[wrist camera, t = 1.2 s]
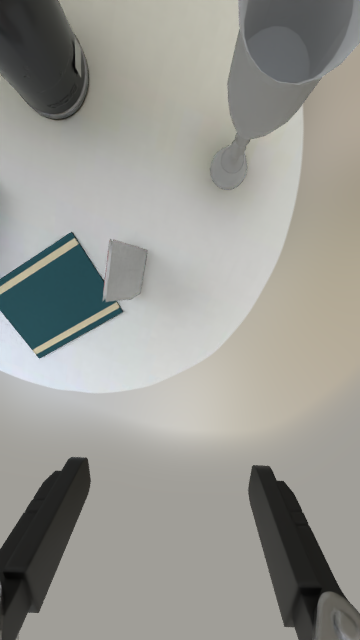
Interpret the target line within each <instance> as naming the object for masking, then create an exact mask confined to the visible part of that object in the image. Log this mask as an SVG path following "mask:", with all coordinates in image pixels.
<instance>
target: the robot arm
mask: <svg viewBox="0 0 360 640" xmlns="http://www.w3.org/2000/svg"><path fill="white" fill-rule="evenodd" d="M0 74H1V75H2V76H3V77H4V78H5V79H6V80H7V81H8V82H9V84H10V85H11V86H12V87H13V88H14V89H15V90H16V91H17V92H18V93H19V94H20V95H21V96H22V98H23V99H24V100H25V101H26V102H27V103H28V104H29V105H30V107H32V108H33V109H34V110H35V111H36V112H38V113H39V114H41V115H43V116H45V117H48V118H52V119H62V118H66V117H68V116H70V115H72V114H73V113H75V112H76V111H77V110H78V109H79V107H80V106H81V104H82V103H83V101H84V99H85V96H86V93H87V89H88V80H89V75H88V66H87V61H86V58H85V55H84V52H83V50H82V48H81V46H80V43H79V41H78V39H77V38H76V36H75V34H74V33H73V31H72V29H71V27H70V24H69V22H68V20H67V18H66V16H65V14H64V12H63V9H62V7H61V5H60V3H59V1H58V0H0ZM90 482H91V480H90V472H89V464H88V459H87V458H80V457H71V458H70V459H68V461H67V462H66V464H65V466H64V467H63V469H62V471H55V472H54V473H53V474H52V475H50V476H49V477H48V478H47V479H46V480H45V481H44V482H43V484H42V486H41V487H40V488H39V490H38V492H37V493H36V495H35V496H34V499H33V500H32V501H31V502H30V504H29V505H28V507H27V509H26V511H25V513H23V515H22V516H21V518H20V519H19V521H18V523H17V524H16V526H15V527H14V529H13V530H12V532H11V533H10V535H9V537H8V538H7V540H6V541H5V543H4V544H3V546H2V548H1V549H0V640H19V631H20V629H21V627H22V624H23V622H24V620H25V618H26V615H27V613H28V612H29V613H30V612H31V613H39V611H40V608H41V606H42V604H43V601H44V599H45V596H46V594H47V592H48V589H49V587H50V584H51V582H52V580H53V577H54V575H55V572H56V570H57V568H58V565H59V563H60V560H61V558H62V555H63V553H64V551H65V548H66V546H67V544H68V541H69V539H70V536H71V534H72V532H73V529H74V527H75V524H76V522H77V519H78V517H79V515H80V512H81V510H82V507H83V505H84V503H85V500H86V498H87V495H88V492H89V488H90ZM248 491H249V500H250V505H251V508H252V512H253V515H254V519H255V522H256V526H257V530H258V533H259V537H260V540H261V544H262V547H263V551H264V555H265V558H266V562H267V566H268V569H269V573H270V576H271V580H272V584H273V587H274V591H275V594H276V598H277V602H278V605H279V609H280V612H281V616H282V620H283V623H284V626H285V627H295V630H296V633H297V636H298V639H299V640H360V613H359V612H358V611H357V610H356V609H355V608H354V606H353V605H352V604H350V602H349V601H348V600H347V598H346V597H345V596H344V594H343V593H342V591H341V589H340V588H339V586H338V584H337V582H336V580H335V578H334V576H333V574H332V572H331V570H330V568H329V565H328V563H327V561H326V559H325V557H324V555H323V553H322V551H321V549H320V547H319V545H318V543H317V541H316V538H315V536H314V534H313V532H312V530H311V528H310V526H309V525H308V522H307V520H306V518H305V515H304V514H303V513H302V509H301V507H300V505H299V503H298V501H297V499H296V497H295V495H294V493H293V492H292V491H291V490H290V488H289V487H288V486H287V485H286V483H285V482H284V481H276V478H275V476H274V474H273V471H272V469H271V468H270V467H269V466H258V465H256V466H255V465H253V466H252V471H251V476H250V482H249V490H248Z"/></svg>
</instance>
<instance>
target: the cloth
mask: <svg viewBox="0 0 360 640" xmlns="http://www.w3.org/2000/svg"><path fill="white" fill-rule="evenodd" d="M103 290H104V281H103V279H102V278H101V276H100V275H99V273H98V272H97V270H96V269H95V267H94V265H93V264H92V262H91V261H90V259H89V258H88V256H87V254H86V253H85V251H84V250H83V248H82V247H81V245H80V243H79V242H78V240H77V239H76V237H75V236H74V234H73V233H72V232H71V233H69V234H68V235H66V236H65V237H63V238H62V239H60V240H59V241H57V242H56V243H54V244H53V245H51V246H50V247H48V248H47V249H45V250H44V251H42V252H41V253H39V254H38V255H36V256H35V257H33V258H31V259H30V260H28V261H27V262H25V263H24V264H22V265H21V266H19V267H18V268H16V269H15V270H13V271H12V272H10V273H9V274H7V275H6V276H4V277H3V278H1V279H0V311H1V312H2V313H3V314H4V315H5V317H6V318H7V319H8V320H9V322H10V323H11V324H12V325H13V327H14V328H15V329H16V330H17V332H18V333H19V334H20V335H21V337H22V338H23V339H24V340H25V342H26V343H27V344H28V345H29V346H30V348H31V349H32V350H33V352H34V353H35V354H36V355H37V356H38V358H41V357H43V356H45V355H47V354H48V353H50V352H52V351H54V350H56V349H57V348H59V347H61V346H63V345H65V344H66V343H68V342H70V341H72V340H74V339H75V338H77V337H79V336H81V335H83V334H84V333H86V332H88V331H90V330H92V329H93V328H95V327H97V326H99V325H101V324H102V323H104V322H106V321H108V320H109V319H111V318H113V317H115V316H117V315H118V314H120V313H122V312H123V311H122V309H121V308H120V306H119V304H118V303H117V301H109V302H106V300H105V299H104V301H103Z"/></svg>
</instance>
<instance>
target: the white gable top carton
mask: <svg viewBox="0 0 360 640" xmlns="http://www.w3.org/2000/svg"><path fill="white" fill-rule="evenodd" d="M146 256H147V250H145V249H142V248H140V247H137V246H133V245H130V244H127V243H123V242H120V241H116V240H113V241H112V240H111V239H110V240H109V248H108V256H107V265H106V273H105V282H104V290H103V301H104V299H105V300H106V302H109V301H118V300H130V299H132V298H134V297H135V296H137V295H138V294H140V291H141V286H142V280H143V274H144V268H145V262H146Z"/></svg>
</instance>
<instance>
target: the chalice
mask: <svg viewBox="0 0 360 640" xmlns="http://www.w3.org/2000/svg"><path fill="white" fill-rule="evenodd" d="M238 1H239V27H240V29H239V33H238V38H237V42H236V46H235V50H234V55H233V59H232V63H231V68H230V73H229V78H228V83H227V85H228V102H229V109H230V115H231V118H232V121H233V124H234V127H235V129H236V131H237V134H236V137H235V140H234V141H233V142H232V144H231V145H228V146H226V147H224V148H222V149H221V150H219V151H218V152H217V153H216V154H215V156H214V158H213V160H212V162H211V167H210V172H211V177H212V180H213V182H214V183H215V184H216V185H217V186H218V187H220V188H221V189H226V190H229V189H233V188H235V187H237V186H239V184H240V183H241V182H242V181H243V179H244V178H245V176H246V172H247V160H246V155H245V150H246V145H247V144H248V143H249V141H250V139H254V138H258V137H262V136H266V135H267V134H269V133H271V132H272V131H274V130H276V129H277V128H279V127H280V126H282V125H283V124H285V123H286V122H288V121H289V120H290V119H291V117H292V116H293V115H294V114H295V113H296V112H297V111H298V109H299V108H300V107H301V105H302V104H303V103H304V101H305V100H306V99H307V97H308V96H309V94H310V93H311V92H312V90H313V89H314V88H315V86H316V85H317V83H318V82H319V81H320V79H321V78H322V77H323V76H324V75H325V74H327V73H328V72H330V71H331V70H333V69H334V68H335V67H337V66H339V65H340V64H341V63H342V62H343V61H344V60H345V58H347V56H348V55H349V54H350V53H351V52H352V51H353V49H355V47H356V46H357V45H358V44H359V43H360V0H238Z"/></svg>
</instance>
